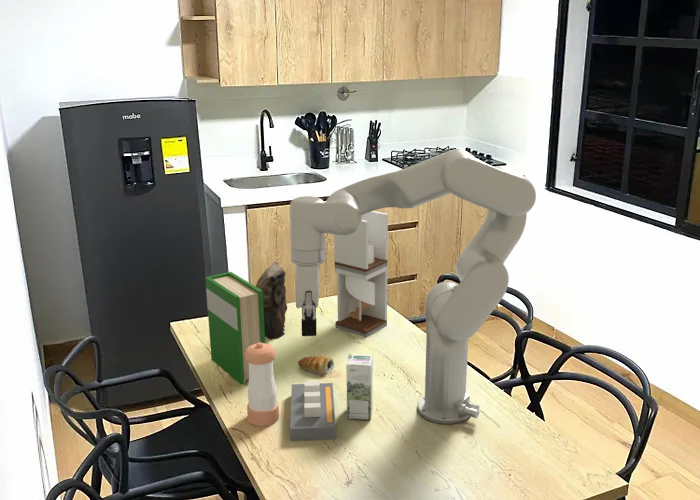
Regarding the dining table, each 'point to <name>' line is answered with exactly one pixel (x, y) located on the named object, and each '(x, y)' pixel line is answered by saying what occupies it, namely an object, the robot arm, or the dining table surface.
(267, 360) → the pepper shaker
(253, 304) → the hardback book
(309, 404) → the paddle
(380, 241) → the white tower
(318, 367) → the pastry
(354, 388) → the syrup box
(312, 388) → the paddle
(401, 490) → the dining table surface
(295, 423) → the breaker panel
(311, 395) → the middle paddle
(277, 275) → the owl
